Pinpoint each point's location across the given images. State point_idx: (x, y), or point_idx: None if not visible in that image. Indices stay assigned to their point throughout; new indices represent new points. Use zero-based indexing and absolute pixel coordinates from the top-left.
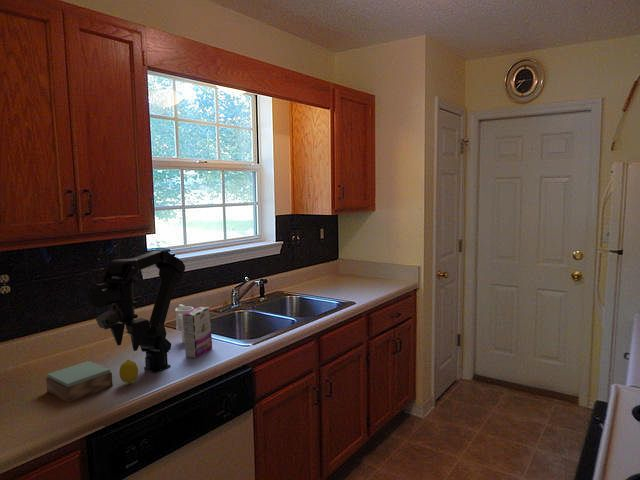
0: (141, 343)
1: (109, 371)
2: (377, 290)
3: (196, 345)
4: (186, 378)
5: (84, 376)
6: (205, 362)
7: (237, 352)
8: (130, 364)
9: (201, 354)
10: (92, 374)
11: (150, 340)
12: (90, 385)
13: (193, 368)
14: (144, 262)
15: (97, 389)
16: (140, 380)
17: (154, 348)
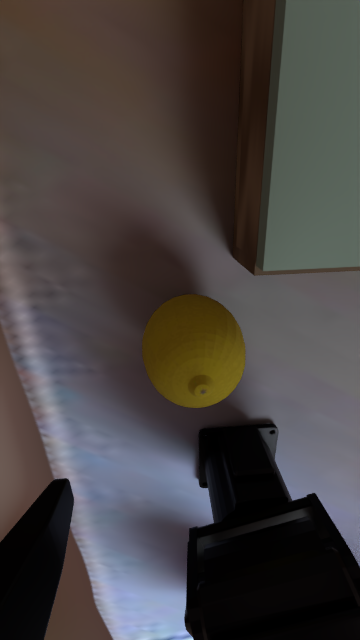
0: (303, 551)
1: (258, 263)
2: None
3: None
4: (51, 468)
5: (319, 55)
6: (135, 551)
7: (127, 619)
8: (162, 375)
9: None
10: (294, 131)
11: (238, 609)
12: (253, 111)
13: (119, 515)
14: None
15: (239, 167)
16: None
17: (208, 549)
